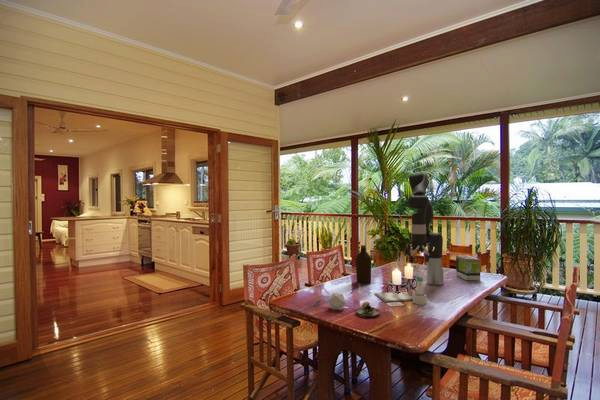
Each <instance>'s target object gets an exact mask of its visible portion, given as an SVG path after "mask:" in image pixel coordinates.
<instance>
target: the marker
mask: <svg viewBox="0 0 600 400" xmlns="http://www.w3.org/2000/svg"><path fill="white" fill-rule="evenodd" d="M423 280H424V278H423V276H421V275H419V276H416V293H417V296H423V293H424V292H423V291H424V290H423V288H424V287H423V286H424V285H423V283H424V282H423Z"/></svg>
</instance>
